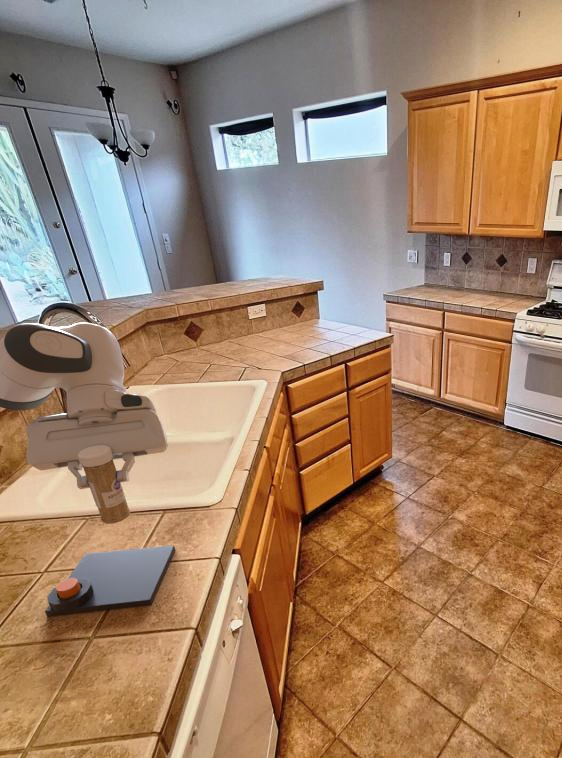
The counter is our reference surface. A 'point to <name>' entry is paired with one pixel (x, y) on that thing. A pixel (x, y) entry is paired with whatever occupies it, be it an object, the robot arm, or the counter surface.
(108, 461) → the sprinkles bottle
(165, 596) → the counter surface
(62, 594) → the button
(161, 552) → the scale
